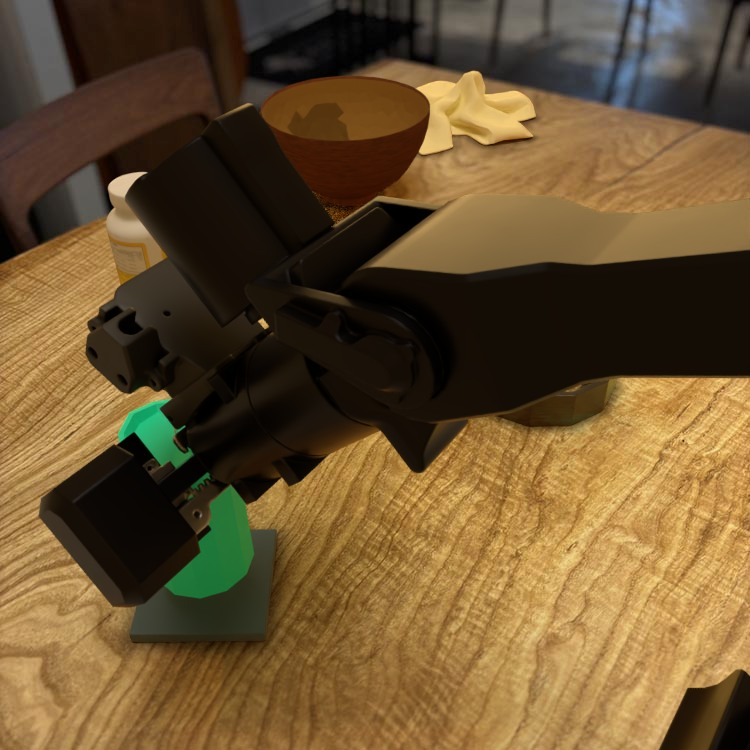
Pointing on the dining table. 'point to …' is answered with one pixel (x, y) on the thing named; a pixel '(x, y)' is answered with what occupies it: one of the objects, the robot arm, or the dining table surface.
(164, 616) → the coaster
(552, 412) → the pan
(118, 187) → the pill bottle
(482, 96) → the cloth
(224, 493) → the candle
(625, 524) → the dining table surface
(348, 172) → the bowl
